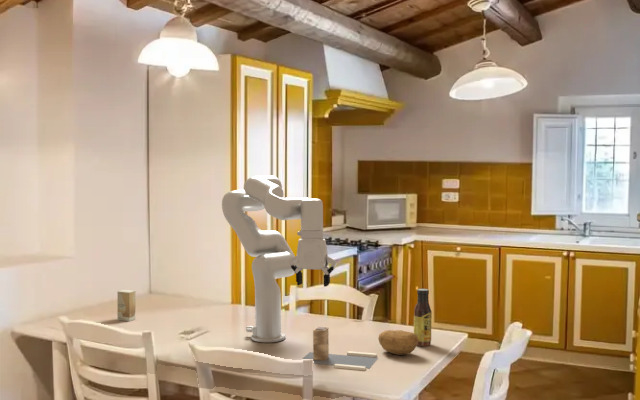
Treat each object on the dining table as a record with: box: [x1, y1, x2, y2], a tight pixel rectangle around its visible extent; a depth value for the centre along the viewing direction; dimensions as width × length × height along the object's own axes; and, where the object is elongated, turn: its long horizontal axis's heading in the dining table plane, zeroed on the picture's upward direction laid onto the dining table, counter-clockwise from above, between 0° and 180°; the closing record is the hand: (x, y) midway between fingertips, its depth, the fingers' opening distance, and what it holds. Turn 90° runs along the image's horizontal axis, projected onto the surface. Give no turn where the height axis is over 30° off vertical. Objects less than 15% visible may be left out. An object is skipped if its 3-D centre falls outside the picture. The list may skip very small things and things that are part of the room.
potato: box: [377, 329, 418, 356], centre depth 239 cm, size 10×14×8 cm
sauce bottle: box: [413, 288, 433, 347], centre depth 250 cm, size 6×6×20 cm
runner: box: [301, 350, 379, 371], centre depth 232 cm, size 24×16×1 cm
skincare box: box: [117, 289, 136, 322], centre depth 292 cm, size 6×4×12 cm
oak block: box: [312, 326, 330, 361], centre depth 233 cm, size 4×4×10 cm
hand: (312, 285), depth 239 cm, fingers open, 9 cm apart
